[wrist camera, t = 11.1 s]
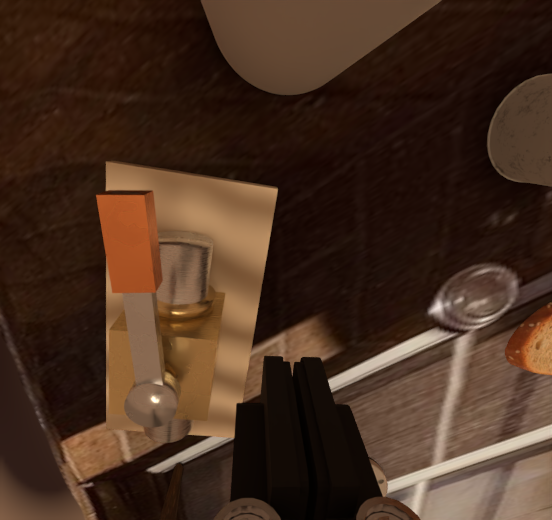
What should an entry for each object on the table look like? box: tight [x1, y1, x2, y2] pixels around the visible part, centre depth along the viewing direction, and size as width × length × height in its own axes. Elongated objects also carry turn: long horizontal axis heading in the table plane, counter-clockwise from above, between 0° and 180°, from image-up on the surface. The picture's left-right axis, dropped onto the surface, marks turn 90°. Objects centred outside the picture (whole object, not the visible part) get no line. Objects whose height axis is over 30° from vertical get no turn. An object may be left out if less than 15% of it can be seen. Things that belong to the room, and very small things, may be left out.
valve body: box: [109, 231, 225, 443], centre depth 30 cm, size 20×8×10 cm, turn 171°
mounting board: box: [106, 161, 278, 438], centre depth 35 cm, size 30×15×2 cm, turn 171°
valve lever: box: [96, 190, 181, 427], centre depth 22 cm, size 17×4×2 cm, turn 0°
